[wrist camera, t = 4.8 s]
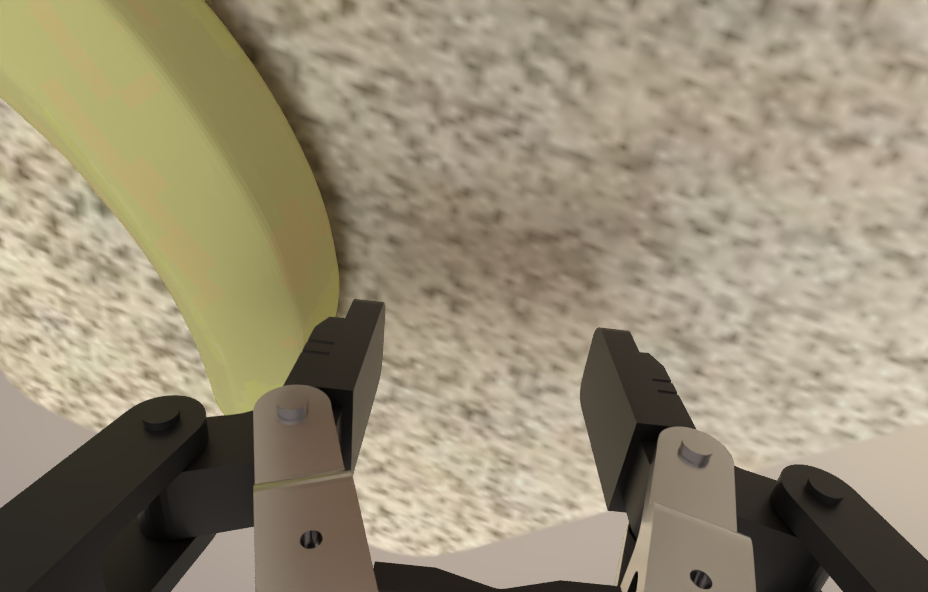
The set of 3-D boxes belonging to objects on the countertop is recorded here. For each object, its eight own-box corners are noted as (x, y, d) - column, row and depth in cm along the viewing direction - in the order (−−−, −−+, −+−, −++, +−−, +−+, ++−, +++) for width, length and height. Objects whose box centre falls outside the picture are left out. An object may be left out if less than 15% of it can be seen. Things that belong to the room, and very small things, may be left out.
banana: (475, 134, 16) (-225, -363, 13) (421, 218, 11) (-664, -510, 9) (308, 389, 24) (-152, 115, 21) (237, 497, 19) (-360, 168, 16)
